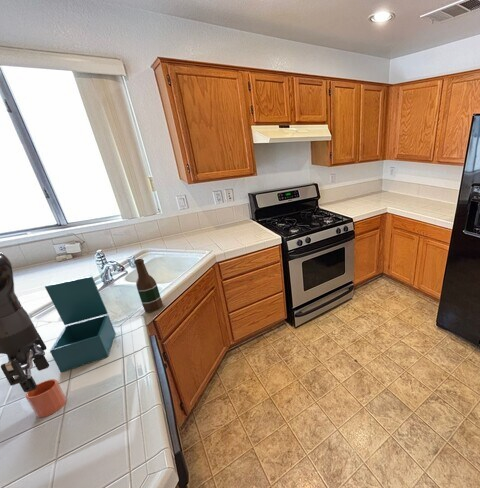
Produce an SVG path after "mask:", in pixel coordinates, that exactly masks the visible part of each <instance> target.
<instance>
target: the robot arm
mask: <svg viewBox="0 0 480 488" xmlns="http://www.w3.org/2000/svg"><path fill="white" fill-rule="evenodd" d="M46 350H47V345H46V344H45V342H44V340H43V339H42V337H41V335H40V333H39V332H38V330H37V328H36V327H35V325H34V322H33V321H32V319H31V317H30V315H29V314H28V311H27V310H25V308H24V307H23V305H22V303H21V301H20V299H19V297H18V296H17V294H16V292H15V279H14V269H13V265H12V263H11V260H10V259H9V257H7V255H6V254H4V253H3V252H1V251H0V355H1V354H2V355H3V354H4V355H6V356H7V359H8V360H7V362H5V363H1V364H0V369H1V371H2V373H3V374H4V377H5V379H6V380H7V382H8V385H10V386H11V387H12V386H15V385H18V384H19V386H20V387H21V389H22V391H23V392H24V393H27V392H29V391H32V390H35V389H36V388H37V383H36V381H35V379H34V377H33V376H32V372H31V370H32V368H33V367H35V368H36V370H37V371H42V370H46V369H48V368H49V367H50V364H49V362H48V360H47V359H46V357H45V355H46Z"/></svg>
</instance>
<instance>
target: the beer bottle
mask: <svg viewBox="0 0 480 488" xmlns="http://www.w3.org/2000/svg"><path fill="white" fill-rule="evenodd" d="M133 264H134V265H135V268H136V272H137V273H136V274H137V279H136V283H135V286H136V290H137V293H138V296H139V299H140V302H141V305H142V308H143V310H144V312H146V313H150V312H152V313H153V312H154V311H158V310H159V309H161V308H162V307H163V301H162V297H161V294H160V291H159V287H158V284H157V281H156V280H155V278H153V276H152V275H151V274H149V272H148V270H147V267H146V265H145V260H144V259H143V258H137V259H135V260H134V261H133Z"/></svg>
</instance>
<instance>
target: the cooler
mask: <svg viewBox="0 0 480 488" xmlns="http://www.w3.org/2000/svg"><path fill="white" fill-rule="evenodd" d="M115 336H116V330H115V328H114V326H113V323H112V320H111V318H110V316H109V314H105V315H101V316H97V317H94V318H90V319H86V320H82V321H79V322H75V323H71V324H68V325H64V327H63V329H62V331H61V332H60V334H59V335H58V337H57V339H56V340H55V342H54V344H53V345H52V346H51V348H50V350H49V352H50V354H51V356H52V358H53V360H54V362H55V365H56V366H57V368H58V370H59V372H60V373H64V372H67V371H70V370H73V369H75V368H79V367H82V366H85V365H87V364H91V363H94V362H97V361H100V360H103V359H106V358H108V357H109V356H110V352H111V349H112V345H113V342H114V339H115ZM96 360H97V361H96ZM93 361H94V362H93Z"/></svg>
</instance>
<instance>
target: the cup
mask: <svg viewBox="0 0 480 488" xmlns="http://www.w3.org/2000/svg"><path fill="white" fill-rule="evenodd" d="M36 385H37V388H36V389H35V390H32V391H29V392H26V393H25V399H26V400H27V402H28V403H29V405H30V407H31V409H32V410H33V412H34V414H35V415H36V417H38V418H46V417H48V416H51V415H53V414H55V413H56V412H58V411H59V410H60V409H62V408H63V407H64V406H65V404H66V403H67V398H66V396H65V394H64V392H63V390H62V388H61V386H60V384H59V382H58V380H57V379H54V378H52V379H46V380H44V381H42V382H39V383H38V384H37V383H36Z"/></svg>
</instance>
